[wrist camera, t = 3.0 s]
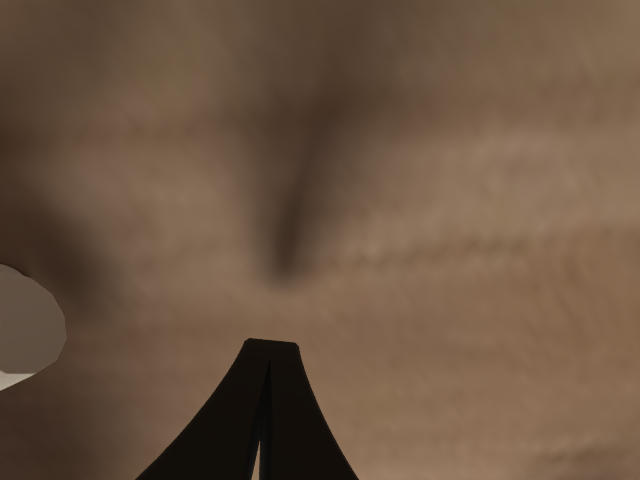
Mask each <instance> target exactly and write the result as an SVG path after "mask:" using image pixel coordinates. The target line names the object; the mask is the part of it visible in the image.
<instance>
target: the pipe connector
mask: <svg viewBox="0 0 640 480" xmlns="http://www.w3.org/2000/svg"><path fill="white" fill-rule="evenodd" d="M66 340H67V337H66V326H65V316H64V314H63V312H62V310H61V309H60V307H59V305H58V304H57V302H56V300H55V298H54V297H53V295H52V293H50V292H49V291H48V290H46V289H45V288H44V287H42V286H41V285H39V284H38V283H37V282H35V281H34V280H33V279H31V278H30V277H26V276H23V275H22V274H21V273H20V272H19V271H17V270H15V269H13V268H12V267H9V266H6V265H3V264H0V391H1V390H3V389H5V388H7V387H9V386H11V385H13V384H15V383H18V382H20V381H22V380H24V379H26V378H28V377H30V376H32V375H34V374H36V373H38V372H39V371H41V370H43V369H44V368H46V367H47V366H49V365H51V364H52V363H54V362H55V361H57V359H58V357H59V355H60V353H61V351H62V348H63V346H64V344H65V342H66Z"/></svg>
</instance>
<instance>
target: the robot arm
mask: <svg viewBox="0 0 640 480" xmlns="http://www.w3.org/2000/svg"><path fill="white" fill-rule="evenodd" d="M259 441H260V465H259V480H359V479H358V478H357V476H356V474H355V473H354V471H353V470H352V468H351V466H350V465H349V463H348V461H347V460H346V458H345V456H344V455H343V453H342V451H341V449H340V448H339V446H338V444H337V442H336V440H335V438H334V437H333V435H332V433H331V431H330V429H329V427H328V425H327V423H326V421H325V419H324V416H323V414H322V412H321V410H320V408H319V405H318V403H317V401H316V398H315V396H314V394H313V391H312V389H311V386H310V384H309V381H308V378H307V375H306V372H305V369H304V366H303V363H302V359H301V355H300V351H299V346H298V345H297V344H296V343H293V342H283V341H273V340H263V339H253V338H249V339H247V340H246V341H244V344H243V346H242V348H241V350H240V352H239V354H238V356H237V358H236V359H235V361H234V363H233V364H232V366H231V368H230V369H229V371H228V372H227V374H226V375H225V377H224V378H223V380H222V381H221V382H220V384H219V385H218V387H217V388H216V390H215V391H214V393H213V394H212V395H211V397H210V398H209V399H208V400H207V402H206V403H205V404H204V405H203V407H202V408H201V409H200V410H199V412H198V413H197V414H196V415H195V417H194V418H193V419H192V420H191V422H190V423H189V424H188V425H187V426H186V427H185V429H184V430H183V431H182V432H181V433H180V434H179V435H178V436H177V438H176V439H175V440H174V441H173V442H172V443H171V444H170V445H169V446H168V447H167V448H166V449H165V450H164V452H163V453H162V454H161V455H160V456H159V457H158V458H157V459H156V460H155V461H154V462H153V463H152V464H151V465H150V466H149V467H148V468H147V469H145V470H144V471H143V472H142V473H141V474H140V475H139V476H138V477H137V478H136V479H135V480H251V479H252V474H253V469H254V465H255V460H256V455H257V451H258V446H259Z"/></svg>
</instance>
